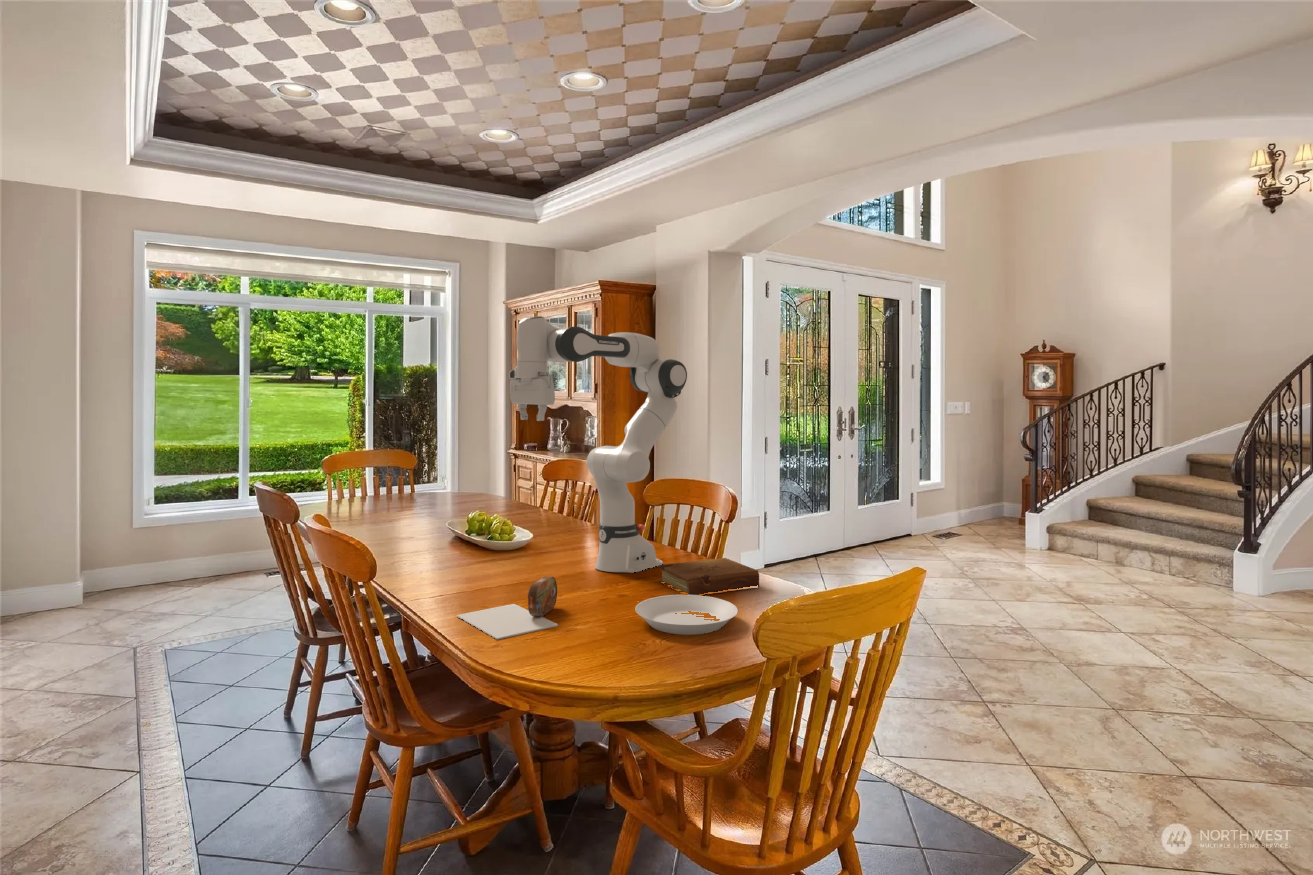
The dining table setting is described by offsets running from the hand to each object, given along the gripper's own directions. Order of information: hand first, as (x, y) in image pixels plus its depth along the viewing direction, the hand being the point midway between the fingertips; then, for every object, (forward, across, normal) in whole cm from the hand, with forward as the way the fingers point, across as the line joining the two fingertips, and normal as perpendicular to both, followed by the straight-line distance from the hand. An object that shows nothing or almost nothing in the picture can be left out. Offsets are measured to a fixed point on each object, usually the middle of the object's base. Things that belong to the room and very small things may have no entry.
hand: (532, 420), depth 209 cm
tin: (+48, -28, +13) cm, 57 cm away
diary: (+48, -34, -39) cm, 71 cm away
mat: (+48, -28, +23) cm, 60 cm away
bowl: (+48, -56, -11) cm, 75 cm away
